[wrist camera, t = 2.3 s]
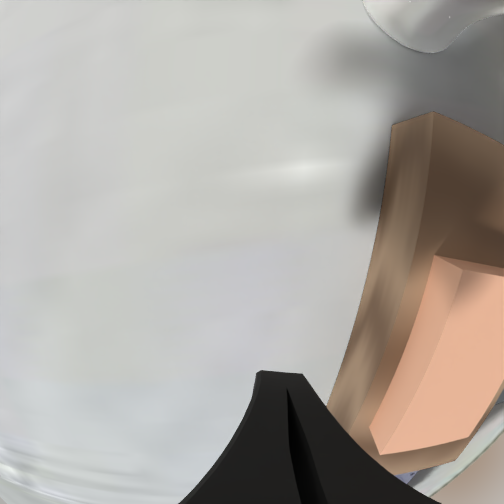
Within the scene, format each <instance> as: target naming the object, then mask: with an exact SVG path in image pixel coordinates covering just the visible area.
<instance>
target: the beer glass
mask: <svg viewBox="0 0 504 504" xmlns="http://www.w3.org/2000/svg"><path fill="white" fill-rule="evenodd" d="M362 1H363V4H364V6H365V9H366V10H367V12H368V14H369V15H370V17H371V18H372V19H373V21H374V22H375V23H376V24H377V25H378V26H379V27H380V28H381V29H382V30H383V31H384V32H385V33H386V34H387V35H389V36H390V37H391V38H393V39H394V40H395V41H397V42H399V43H400V44H402V45H404V46H406V47H408V48H410V49H412V50H415V51H418V52H423V53H437V52H441V51H443V50H445V49H446V48H447V47H449V46H450V45H451V44H452V43H453V41H454V40H455V39H456V38H457V37H458V36H459V35H460V33H461V32H462V31H463V30H464V29H466V28H467V27H468V26H470V25H471V24H473V23H475V22H478V21H480V20H482V19H486V18H489V17H493V16H496V15H501V14H504V0H362Z"/></svg>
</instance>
